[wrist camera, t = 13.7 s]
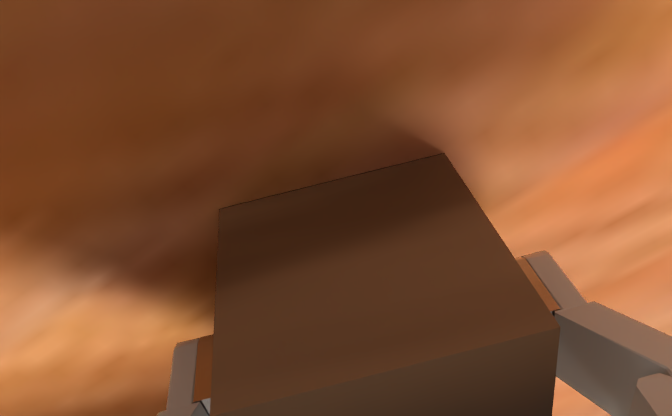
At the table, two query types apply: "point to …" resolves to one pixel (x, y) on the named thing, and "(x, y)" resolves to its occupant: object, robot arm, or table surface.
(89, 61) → the table surface
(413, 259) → the walnut block
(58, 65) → the table surface
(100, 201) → the table surface
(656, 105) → the table surface
